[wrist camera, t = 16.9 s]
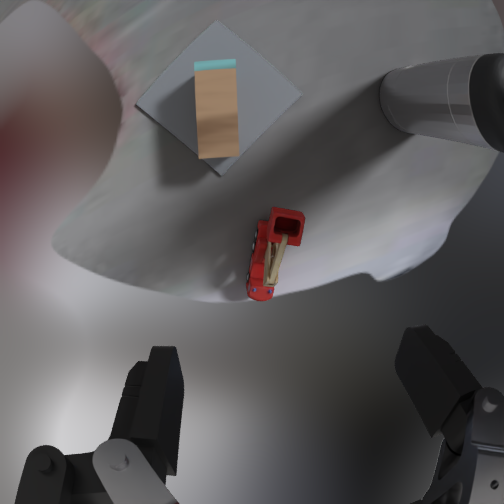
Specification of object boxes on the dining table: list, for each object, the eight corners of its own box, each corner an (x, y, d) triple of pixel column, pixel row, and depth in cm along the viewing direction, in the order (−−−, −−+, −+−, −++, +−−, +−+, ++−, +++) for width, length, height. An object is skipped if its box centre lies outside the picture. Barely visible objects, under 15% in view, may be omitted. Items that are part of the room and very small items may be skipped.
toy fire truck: (244, 286, 42) (248, 329, 34) (263, 190, 37) (274, 212, 28) (267, 289, 43) (277, 332, 34) (289, 194, 38) (308, 218, 29)
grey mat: (216, 20, 28) (216, 19, 28) (302, 94, 32) (303, 93, 32) (136, 104, 31) (135, 103, 31) (221, 175, 36) (221, 176, 36)
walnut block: (239, 156, 29) (235, 59, 25) (198, 158, 29) (194, 61, 25) (237, 150, 34) (234, 69, 30) (203, 153, 34) (199, 71, 30)
